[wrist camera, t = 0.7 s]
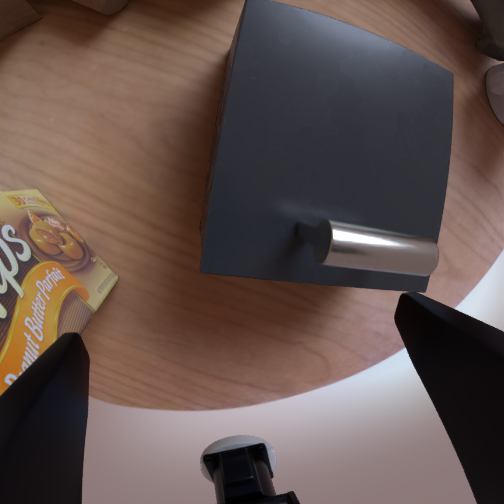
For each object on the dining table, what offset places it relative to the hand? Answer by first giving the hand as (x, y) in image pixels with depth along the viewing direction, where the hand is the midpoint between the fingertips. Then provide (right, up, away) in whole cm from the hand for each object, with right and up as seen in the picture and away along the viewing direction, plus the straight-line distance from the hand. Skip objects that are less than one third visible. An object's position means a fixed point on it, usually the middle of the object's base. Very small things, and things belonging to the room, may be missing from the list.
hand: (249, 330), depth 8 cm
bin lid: (+5, +7, +7) cm, 11 cm away
